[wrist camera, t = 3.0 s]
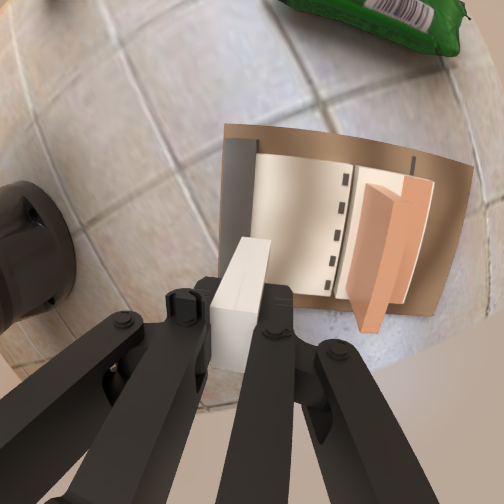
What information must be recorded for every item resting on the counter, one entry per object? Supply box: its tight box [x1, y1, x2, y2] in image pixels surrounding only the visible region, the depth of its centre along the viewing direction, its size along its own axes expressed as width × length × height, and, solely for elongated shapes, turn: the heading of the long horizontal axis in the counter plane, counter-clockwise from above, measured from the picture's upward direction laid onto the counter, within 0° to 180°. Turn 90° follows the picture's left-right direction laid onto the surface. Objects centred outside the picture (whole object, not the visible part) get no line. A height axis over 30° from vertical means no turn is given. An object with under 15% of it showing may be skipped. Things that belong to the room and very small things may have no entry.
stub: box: [333, 165, 435, 334], centre depth 18 cm, size 6×10×7 cm, turn 176°
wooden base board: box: [218, 124, 474, 316], centre depth 21 cm, size 20×14×3 cm
